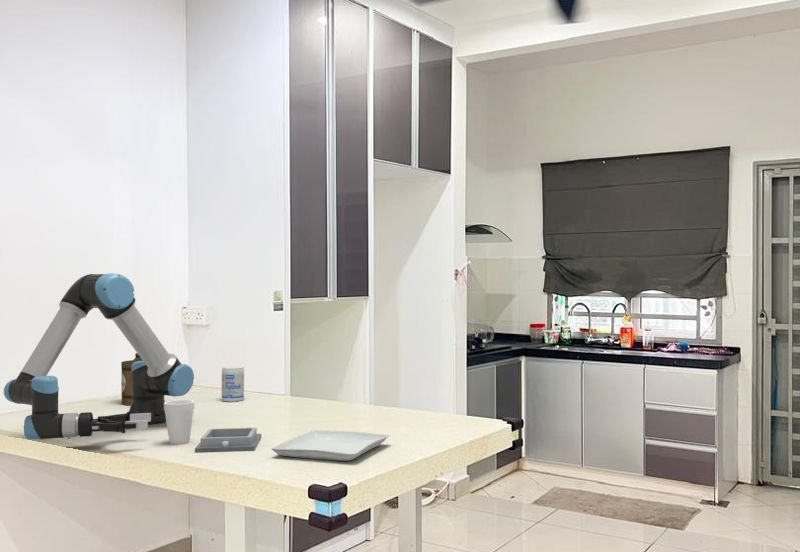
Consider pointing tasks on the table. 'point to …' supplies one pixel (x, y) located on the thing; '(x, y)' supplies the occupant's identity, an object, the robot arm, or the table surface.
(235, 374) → the supplement tub
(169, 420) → the foam cup
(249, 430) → the tray
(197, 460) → the table surface
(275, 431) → the table surface
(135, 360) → the wooden container
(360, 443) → the square plate
